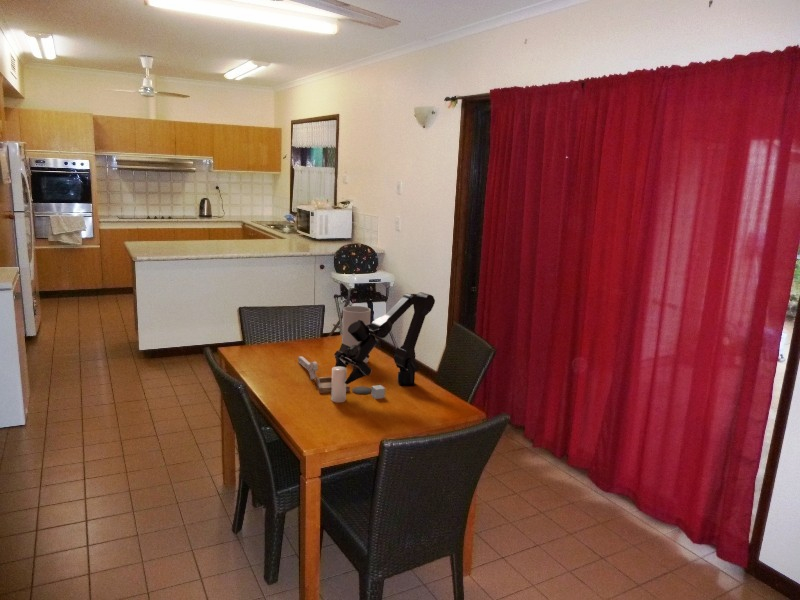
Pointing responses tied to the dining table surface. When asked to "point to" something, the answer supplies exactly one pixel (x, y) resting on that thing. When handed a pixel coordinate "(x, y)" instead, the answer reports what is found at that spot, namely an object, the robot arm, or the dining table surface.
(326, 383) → the bay
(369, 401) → the dining table surface
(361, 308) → the cylinder vase
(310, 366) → the wrench
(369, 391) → the coaster
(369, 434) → the dining table surface
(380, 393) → the block
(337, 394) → the white rounded tapered post
